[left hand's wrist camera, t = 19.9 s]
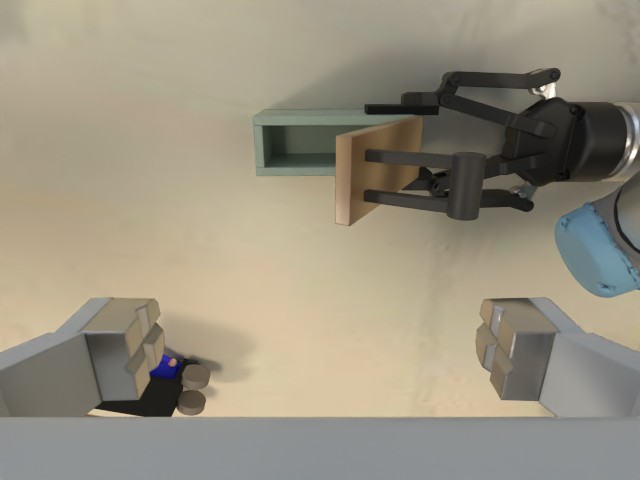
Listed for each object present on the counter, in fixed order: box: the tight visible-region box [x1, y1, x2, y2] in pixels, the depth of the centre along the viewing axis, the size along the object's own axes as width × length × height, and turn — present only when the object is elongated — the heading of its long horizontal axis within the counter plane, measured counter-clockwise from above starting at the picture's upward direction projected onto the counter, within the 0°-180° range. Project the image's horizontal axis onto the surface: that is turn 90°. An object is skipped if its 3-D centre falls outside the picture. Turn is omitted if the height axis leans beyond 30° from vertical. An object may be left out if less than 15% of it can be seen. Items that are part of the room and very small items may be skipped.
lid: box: [335, 116, 487, 226], centre depth 29 cm, size 15×5×8 cm
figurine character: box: [94, 354, 210, 417], centre depth 54 cm, size 7×8×15 cm
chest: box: [253, 109, 416, 176], centre depth 42 cm, size 15×5×9 cm, turn 90°
